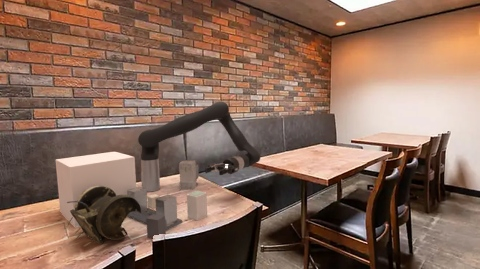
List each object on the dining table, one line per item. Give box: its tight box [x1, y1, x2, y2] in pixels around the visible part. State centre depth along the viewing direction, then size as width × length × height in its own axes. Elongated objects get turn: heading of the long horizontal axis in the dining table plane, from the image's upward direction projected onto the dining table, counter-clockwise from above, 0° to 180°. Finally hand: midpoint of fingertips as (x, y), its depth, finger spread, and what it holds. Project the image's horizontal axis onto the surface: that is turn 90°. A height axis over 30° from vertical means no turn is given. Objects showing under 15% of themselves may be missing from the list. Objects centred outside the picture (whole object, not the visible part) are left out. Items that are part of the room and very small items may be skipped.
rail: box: [127, 186, 183, 231], centre depth 109 cm, size 26×9×11 cm, turn 55°
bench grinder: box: [64, 186, 141, 247], centre depth 95 cm, size 20×22×20 cm
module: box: [186, 190, 208, 221], centre depth 111 cm, size 6×6×10 cm
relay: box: [146, 214, 167, 239], centre depth 96 cm, size 5×4×7 cm
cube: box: [55, 151, 137, 229], centre depth 118 cm, size 25×21×24 cm
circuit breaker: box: [178, 159, 200, 191], centre depth 152 cm, size 8×14×15 cm, turn 174°
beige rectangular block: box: [147, 193, 161, 210], centre depth 123 cm, size 4×4×5 cm
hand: (212, 171), depth 121 cm, fingers open, 8 cm apart
